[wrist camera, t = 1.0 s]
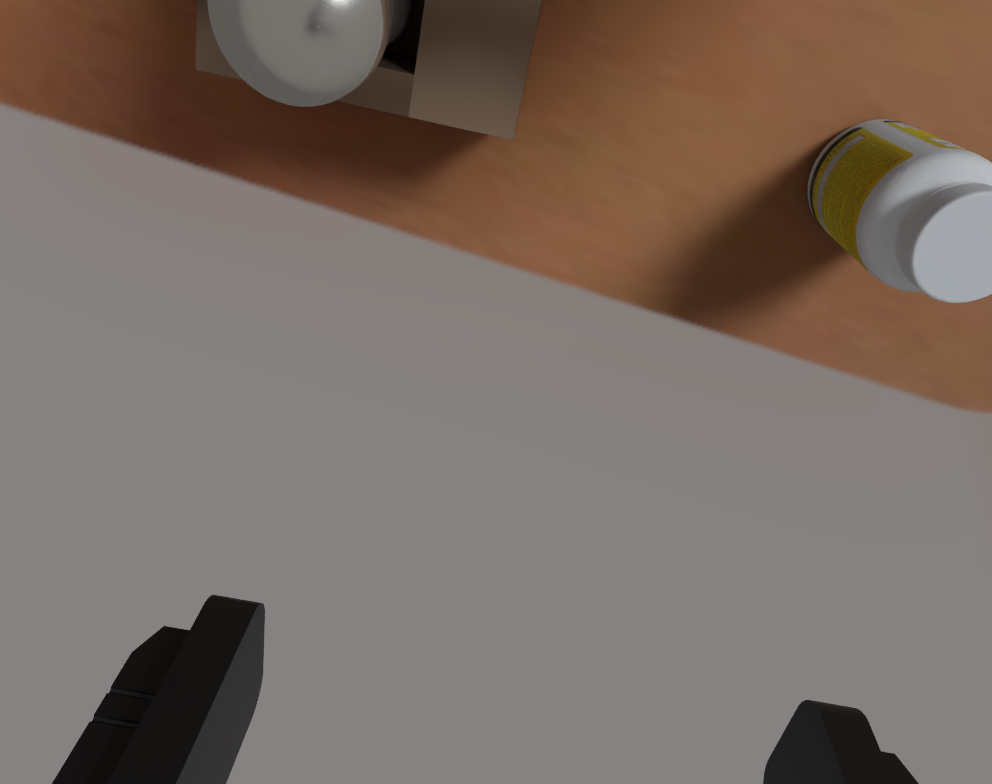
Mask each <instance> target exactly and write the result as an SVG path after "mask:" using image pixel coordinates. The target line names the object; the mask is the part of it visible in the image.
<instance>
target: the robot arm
mask: <svg viewBox="0 0 992 784" xmlns="http://www.w3.org/2000/svg"><path fill="white" fill-rule="evenodd" d="M264 622H265V608H264V604H262V603H258V602H252V601H246V600H240V599H235V598H229V597H223V596H217V595H212V596H210V597H209V598H208V599H207V601H206V602H205V604H204V605H203V607H202V609H201V611H200V613H199V615H198V616H197V618H196V620H195V622H194V624H193V626H192V628H191V629H190V630H183V629H178V628H172V627H166V626H164V627H162V628H161V629H160V630H159V631H157V632H156V633H155V634H154V635H153V636H151V637H150V638H149V639H148V640H146V641H145V642H144V643H143V644H142V645H140V646H139V647H138V648H137V649H135V650H134V651H133V652H132V653H131V655H130V656H129V658H128V660H127V661H126V663H125V664H124V666H123V668H122V669H121V671H120V673H119V674H118V676H117V678H116V679H115V681H114V683H113V685H112V686H111V690H110V692H109V693H107V694H106V696H105V698H104V699H103V701H102V702H101V704H100V706H99V707H98V709H97V711H96V712H95V714H94V718H93V720H92V722H89V724H88V726H87V727H86V729H85V730H84V732H83V734H82V735H81V737H80V738H79V740H78V742H77V743H76V745H75V747H74V749H73V750H72V752H71V753H70V755H69V757H68V758H67V760H66V762H65V763H64V765H63V766H62V768H61V770H60V771H59V773H58V775H57V776H56V778H55V780H54V781H53V783H52V784H226V782H227V780H228V777H229V774H230V772H231V769H232V767H233V764H234V762H235V759H236V757H237V754H238V752H239V749H240V747H241V744H242V742H243V739H244V737H245V734H246V732H247V729H248V727H249V724H250V722H251V719H252V716H253V714H254V711H255V707H256V704H257V701H258V697H259V693H260V688H261V683H262V677H263V656H264ZM763 784H918V782H917V781H916V780H915V779H914V778H913V776H912V775H911V774H910V772H909V771H908V770H907V769H906V767H905V766H904V765H903V764H902V762H901V761H900V760H899V759H898V757H897V756H896V755H895V754H892V753H886V752H881V751H880V749H879V746H878V744H877V741H876V739H875V736H874V734H873V732H872V729H871V727H870V724H869V722H868V720H867V718H866V717H865V715H864V714H863V713H862V712H861V711H860V710H858V709H856V708H851V707H846V706H840V705H834V704H828V703H823V702H817V701H811V700H805V701H803V702H802V703H801V704H800V705H799V706H798V708H797V710H796V711H795V713H794V715H793V717H792V718H791V720H790V722H789V724H788V726H787V727H786V729H785V731H784V733H783V735H782V736H781V738H780V740H779V742H778V744H777V745H776V747H775V749H774V751H773V752H772V754H771V756H770V758H769V760H768V762H767V765H766V769H765V773H764V782H763Z"/></svg>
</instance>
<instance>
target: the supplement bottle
mask: <svg viewBox="0 0 992 784" xmlns="http://www.w3.org/2000/svg"><path fill="white" fill-rule="evenodd" d="M807 195H808V202H809V206H810V210H811V212H812V214H813V216H814V218H815V220H816V221H817V222H818V224H819V225H820V226H821V228H822V229H823V230H824V231H826V232H827V233H828V234H829V235H830V236H831V237H832V238H833V239H834V240H835V241H836V242H837V243H838V244H839V245H840V246H842V247H843V248H844V249H845V250H846V251H847V252H848V253H849V254H850V255H852V256H853V257H854V258H855V259H856V260H857V261H858V262H859V263H860V264H861V265H862V266H863V267H864V268H865V269H867V270H868V271H869V272H870V273H871V274H872V275H874V276H875V277H876V278H878V279H879V280H881V281H882V282H884V283H885V284H887V285H889V286H891V287H894V288H897V289H900V290H904V291H910V292H924V293H925V294H926V295H928V296H930V297H932V298H933V299H936V300H939V301H943V302H949V303H963V302H970V301H974V300H978V299H981V298H983V297H986V296H988V295H990V294H992V163H991V162H990V161H988V160H987V159H985V158H983V157H981V156H979V155H978V154H975V153H973V152H971V151H968V150H966V149H964V148H961V147H959V146H957V145H954V144H952V143H950V142H947V141H945V140H943V139H941V138H938V137H936V136H934V135H931V134H929V133H927V132H925V131H922V130H920V129H918V128H915V127H913V126H910V125H908V124H905V123H902V122H899V121H894V120H887V119H880V120H871V121H866V122H863V123H860V124H857V125H855V126H852V127H850V128H848V129H847V130H845V131H843V132H842V133H840V134H839V135H838V136H836V137H835V138H834V139H833V140H832V141H830V142H829V143H828V144H827V146H826V147H825V148H824V149H823V150H822V152H821V153H820V154H819V156H818V158H817V159H816V161H815V163H814V165H813V167H812V170H811V173H810V176H809V180H808V187H807Z"/></svg>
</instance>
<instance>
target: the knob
mask: <svg viewBox="0 0 992 784" xmlns="http://www.w3.org/2000/svg"><path fill="white" fill-rule="evenodd" d="M207 3H208V12H209V19H210V23H211V26H212V30H213V33H214V36H215V38H216V41H217V43H218V46H219V47H220V49H221V51H222V53H223V55H224V57H225V58H226V60H227V61H228V63H229V64H230V66H231V67H232V68H233V69H234V71H235V72H236V73H237V74H238V75H239V76H240V77H241V78H242V79H243V80H244V81H245V82H246V83H247V84H248V85H250V86H251V87H252V88H253V89H255V90H256V91H257V92H259V93H261V94H263V95H264V96H266V97H268V98H270V99H272V100H275V101H277V102H280V103H284V104H287V105H292V106H299V107H312V106H320V105H324V104H327V103H331V102H333V101H335V100H337V99H340V98H341V97H343V96H345V95H346V94H348V93H350V92H351V91H353V90H354V89H356V88H358V87H359V86H360V85H361V84H363V83H364V82H365V81H366V80H367V79H368V78H369V77H370V76H371V74H372V73H373V72H374V71H375V69H376V67H377V66H378V64H379V63H380V61H381V58H382V56H383V54H384V52H385V48H386V45H388V44H390V43H392V42H395V41H396V40H398V39H399V38H400V37H401V36H403V35H404V33H405V32H406V31H407V30H408V28H409V26H410V24H411V22H412V20H413V16H414V12H415V0H207Z"/></svg>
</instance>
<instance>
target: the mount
mask: <svg viewBox="0 0 992 784" xmlns="http://www.w3.org/2000/svg"><path fill="white" fill-rule="evenodd" d="M541 2H542V0H415V12H414V16H413V20H412V22H411V24H410V26H409V28H408V30H407V31H406V32H405V33H404V35H403V36H401V37H400V38H399V39H398V40H396V41H395V42H392V43H390V44H388V45H386V48H385V52H384V54H383V56H382V58H381V61H380V63H379V64H378V66H377V67H376V69H375V71H374V72H373V73H372V74H371V76H370V77H369V78H368V79H367V80H366V81H365V82H364V83H363V84H361V85H360V86H359V87H358V88H356V89H354V90H353V91H351V92H350V93H348V94H346V95H345V96H343V97H341V98H340V99H337V100H335V101H338V102H342V103H347V104H351V105H356V106H360V107H365V108H370V109H374V110H379V111H383V112H388V113H392V114H397V115H401V116H406V117H410V118H415V119H419V120H424V121H428V122H433V123H437V124H442V125H446V126H451V127H455V128H460V129H464V130H469V131H473V132H478V133H482V134H487V135H491V136H496V137H500V138H505V139H509V140H513V138H514V133H515V128H516V123H517V118H518V113H519V109H520V104H521V99H522V94H523V89H524V84H525V80H526V75H527V70H528V65H529V60H530V55H531V51H532V46H533V41H534V36H535V31H536V26H537V21H538V17H539V12H540V7H541ZM195 70H198V71H203V72H207V73H212V74H216V75H221V76H225V77H230V78H234V79H239V80H243V79H242V78H241V77H240V76H239V75H238V74H237V73H236V72H235V71H234V69H233V68H232V67H231V66H230V64H229V63H228V61H227V60H226V58H225V57H224V55H223V53H222V51H221V49H220V47H219V46H218V43H217V41H216V38H215V36H214V33H213V30H212V26H211V23H210V19H209V12H208V3H207V0H196V68H195ZM243 81H244V80H243Z"/></svg>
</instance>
